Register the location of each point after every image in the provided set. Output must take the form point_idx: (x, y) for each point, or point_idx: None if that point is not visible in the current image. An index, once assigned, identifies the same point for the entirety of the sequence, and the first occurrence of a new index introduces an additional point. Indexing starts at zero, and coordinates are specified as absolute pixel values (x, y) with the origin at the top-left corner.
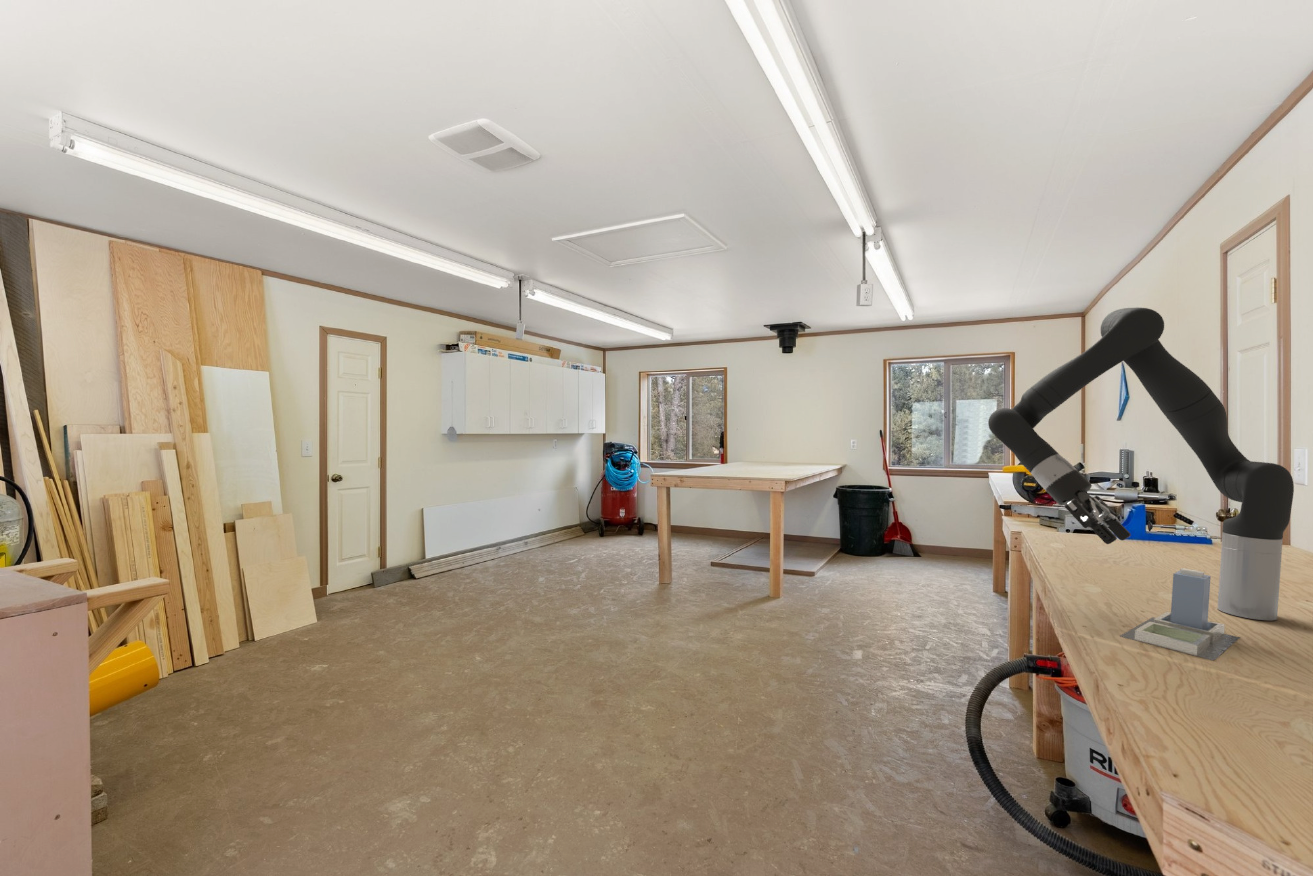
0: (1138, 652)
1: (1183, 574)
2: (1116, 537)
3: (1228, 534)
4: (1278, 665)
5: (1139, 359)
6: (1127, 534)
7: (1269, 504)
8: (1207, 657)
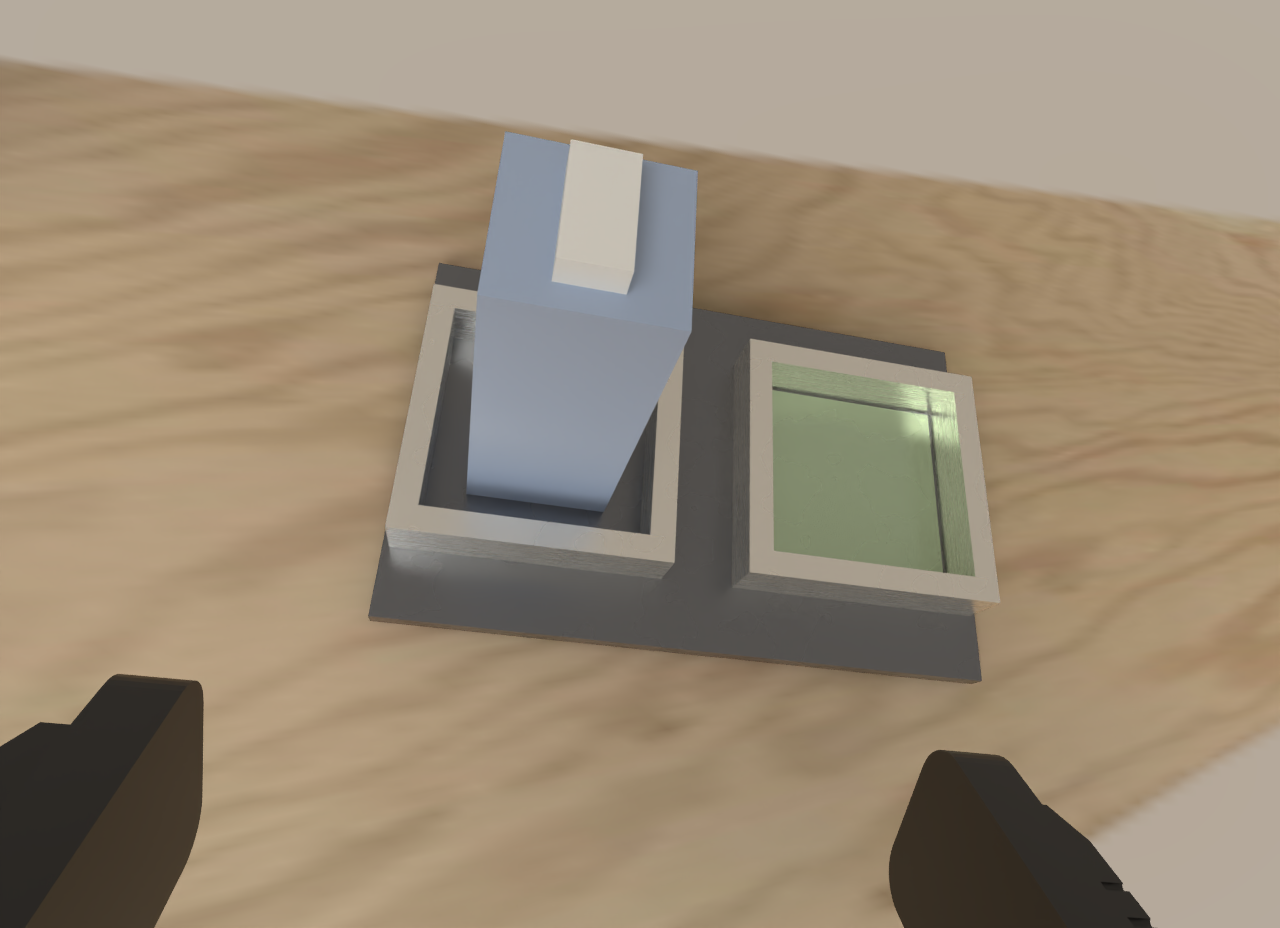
0: (1058, 587)
1: (650, 274)
2: (955, 752)
3: None
4: (700, 197)
5: None
6: (177, 724)
7: None
8: (929, 369)
